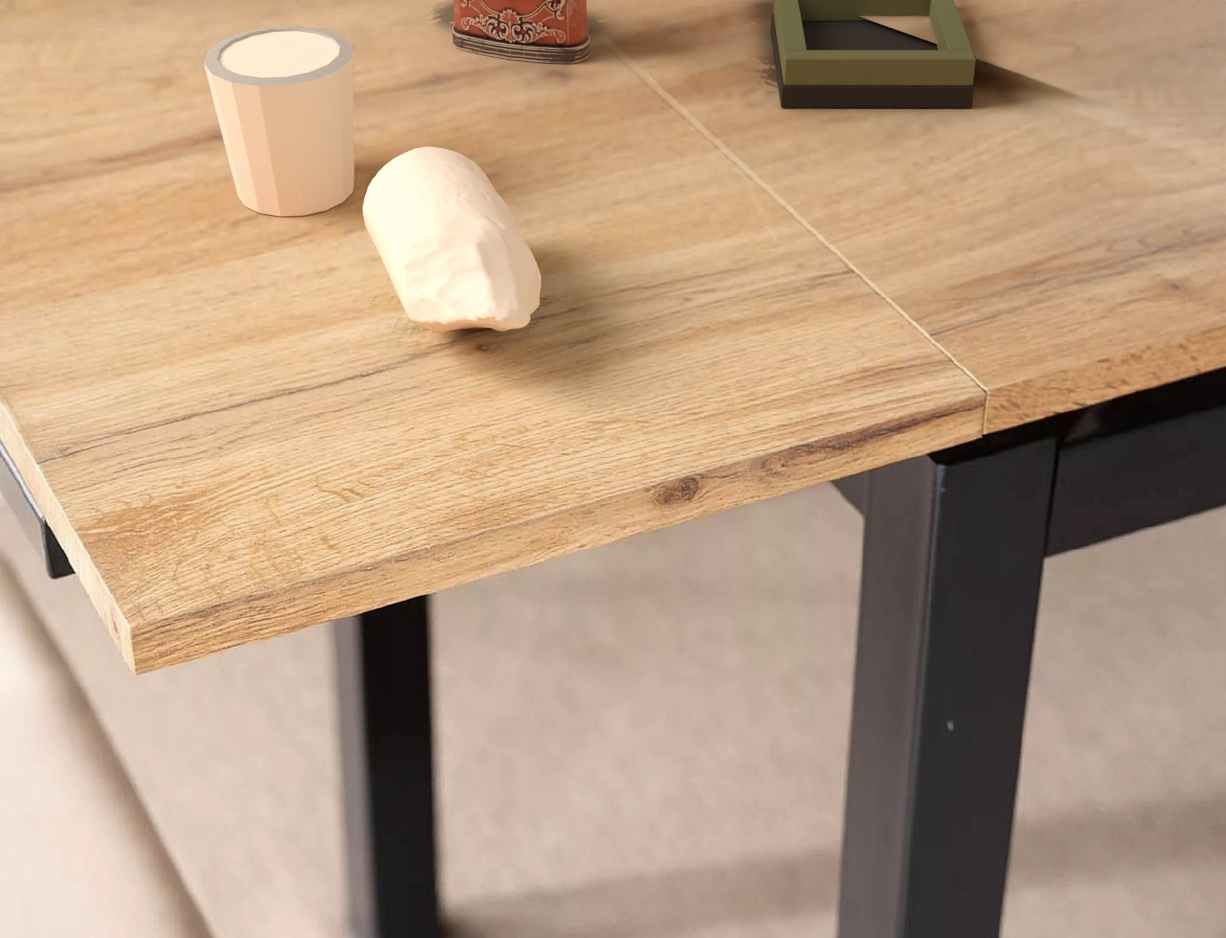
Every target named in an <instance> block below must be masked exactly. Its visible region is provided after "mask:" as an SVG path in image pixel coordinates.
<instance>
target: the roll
mask: <svg viewBox="0 0 1226 938" xmlns="http://www.w3.org/2000/svg"><path fill="white" fill-rule="evenodd" d="M368 184H369V185H368V186H367V190H366V193H365V195H364V199H363V204H362V208H361V209H362V217H363V220H364V226H365V228H366V230H367V232H368V234H369V237H370V238H371V240H372V242H373V244H374V246H375V248H376V250H377V252H378V254H379V256H380V259H381V260H382V263H383V266H384V268H385V269H386V272H387V274H388V276H389V278H390V282H391V283H392V286H393V288H394V290H395V292H396V295H397V297H398V299H399V300H400V303H401V305H402V308H403V309H404V311H405V313H406V315H407V317H408V319H409V320H410V321H412V322H413V323H414V324H415V325H416V326H418V327H421V328H422V329H426V330H430V331H434V332H439V333H445V332H450V331H459V330H467V329H469V330H470V329H486V328H488V329H492V330H495V331H498V332H506V331H509V330H515V329H521V328H525V327H526V326H528V324H529V323H530V322H531V315H532V314H533V313H534V312H535V311H536V310H538V309H539V307H540V304H541V300H540V297H541V290H542V275H541V271H540V268H539V265H538V263H537V260H536V259H535V257H534V254H533V252H532V250H531V248H530V246H529V245H528V243H527V241H526V238H525V237H524V235H523V233H522V230H521V229H520V226H519V223H518V221H517V220H516V218H515V216H514V215H513V213H512V211H511V209H510V208H509V206H508V205H507V203H506V201H505V200H504V198H503V197H502V196H500V194H499V193H498V192H497V191H496V188H495V187H494V186H493V184H492V182H491V181H490V179H489V177H488V176H487V175H486V173H485V171H483V169H482V168H481V167H480V165H478V164H477V163H476V162H475V161H473V160H472V159H470V158H469V157H467V156H465V155H464V154H461V153H460V152H457V151H455V150H451V149H447V148H443V147H438V146H437V147H435V146H421V147H415V148H413V149H410V150H407V151H406V152H403V153H401V154H400V155H398V156H396V157H394V158H392V159H391V160H390V161H388V162H387V163H386V164H385V165H384V166H383V167H382V168H381V169H379V170H378V172H377V173H376V175H375V176H374V177H373V178H372V179H371V181H370V183H368Z"/></svg>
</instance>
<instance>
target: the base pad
mask: <svg viewBox="0 0 1226 938" xmlns="http://www.w3.org/2000/svg"><path fill="white" fill-rule="evenodd" d="M772 10H773V11H772V12H771V14H770V32H769V33H770V39H771V46H772V53H773V61H774V68H775V75H776V82H777V89H778V96H779V104H780V108H784V109H785V108H787V109H794V108H795V109H972V108H973V103H974V97H975V96H974V95H975V85H974V77H975V68H976V60H977V59H976V57H975V54H974V51H973V48H972V45H971V43H970V40H969V38H968V34H967V32H966V29H965V26H964V24H963V21H962V18H961V16H960V13H959V10H958V7H957V5H956V2H955V0H773V9H772ZM865 17H929V20H930V21H929V22H930V23H931V27H932V30H933V32H934V36H935V39H936V42H933V41H930V40H927V39H924V38H921V37H918V36H915V35H913V34H910V33H907V32H904V31H901V30H899V29H896V28H893V27H891V26H887V25H885V24H882V23H879V22H877V21H873V20H871V19H868V18H865Z"/></svg>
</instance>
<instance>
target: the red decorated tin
mask: <svg viewBox="0 0 1226 938" xmlns="http://www.w3.org/2000/svg"><path fill="white" fill-rule="evenodd" d="M453 13H454V14H453V16H454V24H453V25H452V27H451V32H452V44H453V45H452V46H453V47H454V48H456V49H459V50H462V51H465V52H470V53H474V54H478V55H483V56H487V57H494V58H500V59H506V60H511V61H522V62H529V63H532V62H533V63H544V64H545V63H546V64H547V63H548V64H564V65H565V64H566V65H567V64H569V65H570V64H576V63H580V62H583V61H585V60H587V59H588V58H589V57H590V56H591V37H590V34H588V22H587V21H588V20H587V19H588V18H587V17H588V16H587V14H588V13H587V0H453Z"/></svg>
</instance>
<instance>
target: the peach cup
mask: <svg viewBox="0 0 1226 938" xmlns="http://www.w3.org/2000/svg"><path fill="white" fill-rule="evenodd" d="M203 66H204V70H205V74H206V78H207V82H208V84H209V85H208V86H209V89H210V92H211V98H212V101H213V106H214V110H215V113H216V117H217V120H218V124H219V128H220V132H221V136H222V140H223V144H224V148H225V152H226V155H227V156H226V157H227V159H228V163H229V168H230V171H231V175H232V179H233V183H234V187H235V190H236V195H237V197H238V199H239V200H240V202H241V204H243V206H244V207H246V208H248V209H250V210H251V211H255V212H256V213H258V214H263V215H269V216H274V217H302V216H308V215H313V214H316V213H321V212H325V211H328V210H330V209H333V208H334V207H336V206H338V205H340V204H342V203H344V202H345V201H346V200H347V199H348V198H349V197H350V196H351V195H352V194H353V193H354V187H355V110H354V109H355V104H354V101H355V100H354V99H355V97H354V96H355V93H354V92H355V90H354V85H355V84H354V82H355V80H354V78H355V77H354V74H355V73H354V69H355V67H354V45H353V44H352V43H351V42H350V41H349V40H348V39H347V38H346V37H345V36H344V35H341V34H339V33H336V32H333V31H331V30H328V29H325V28H319V27H313V26H312V27H311V26H305V25H286V26H285V25H284V26H282V25H281V26H268V27H262V28H258V29H252V30H246V31H242V32H240V33H237V34H235V35H232V36H230V37H226V38H224V39H222V40H220V41H218V42H217V43H216V44H215V45H214V46H212V47H211V48H210V49H209V50H208V51H206V54H205V58H204V61H203Z"/></svg>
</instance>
